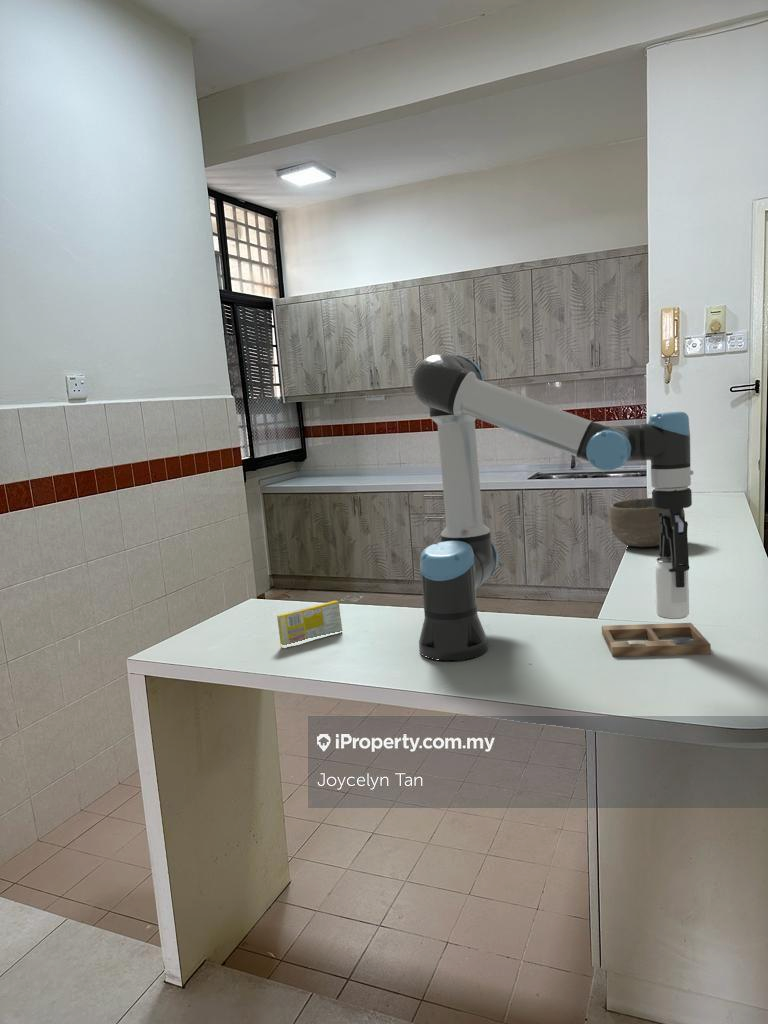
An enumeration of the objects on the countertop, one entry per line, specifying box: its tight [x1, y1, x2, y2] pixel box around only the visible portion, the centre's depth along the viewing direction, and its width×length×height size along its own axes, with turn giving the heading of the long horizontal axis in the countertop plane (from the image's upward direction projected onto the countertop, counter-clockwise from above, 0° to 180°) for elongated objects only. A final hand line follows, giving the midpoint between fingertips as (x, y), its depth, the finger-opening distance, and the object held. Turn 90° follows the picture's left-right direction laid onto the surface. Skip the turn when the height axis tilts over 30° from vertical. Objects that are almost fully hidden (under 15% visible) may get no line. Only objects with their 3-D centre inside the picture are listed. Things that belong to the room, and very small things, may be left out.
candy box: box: [276, 600, 343, 645], centre depth 171 cm, size 16×2×8 cm, turn 123°
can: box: [654, 556, 690, 620], centre depth 147 cm, size 6×6×12 cm
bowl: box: [608, 497, 686, 548], centre depth 242 cm, size 24×24×15 cm
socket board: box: [601, 622, 712, 658], centre depth 149 cm, size 19×14×2 cm
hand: (674, 596), depth 147 cm, fingers closed on can, 6 cm apart
